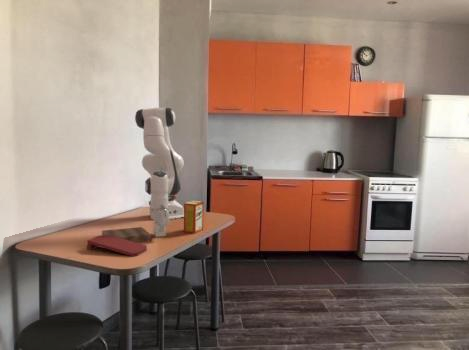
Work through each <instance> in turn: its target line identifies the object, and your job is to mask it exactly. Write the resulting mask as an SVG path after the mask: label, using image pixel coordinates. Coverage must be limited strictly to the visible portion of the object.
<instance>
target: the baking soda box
mask: <svg viewBox="0 0 469 350" xmlns="http://www.w3.org/2000/svg"><path fill="white" fill-rule="evenodd" d="M183 209H184V218H183V233H187V234H193V235H195V234H197V233H200V232H201V230H202V231H203V230H204V201H203V200H202V201H200V200H189V201H187V202H184V203H183Z"/></svg>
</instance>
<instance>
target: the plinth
mask: <svg viewBox="0 0 469 350" xmlns="http://www.w3.org/2000/svg"><path fill="white" fill-rule="evenodd" d="M101 235H111V236H115V237H118V238H122V239H125V240H129V241H132V242H136V243H140V242H148V241H151V237H152V236H151V233H149V232H148V231H147V230H146V229H145V228H144V227H142V226H141V227H130V228H116V229H105V230H101Z"/></svg>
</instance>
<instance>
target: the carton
mask: <svg viewBox="0 0 469 350" xmlns="http://www.w3.org/2000/svg"><path fill="white" fill-rule="evenodd" d="M98 247H100V248H101V249H102V248H103V249H106V250H110V251H113V252H117V253H119V254H123V255H126V256H131V257H136V256H139V255H141V254H143V253H144V252H146V251H147V245H146V244H142V243H140V242H132V241H129V240H125V239H122V238H118V237H115V236H111V235H102V234H101V235H97V236H95V237H93V238H90V239H88V240H87V243H86V249H87V250H93V249H95V248H98Z"/></svg>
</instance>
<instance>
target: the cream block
mask: <svg viewBox="0 0 469 350" xmlns="http://www.w3.org/2000/svg"><path fill="white" fill-rule="evenodd" d="M152 223H153V226H152V228H153V229H152V234H153V236H155V237H157V238H158V237H159V238H160V237H166V235H167V233H166V232H167V230H166V228H167V226H164V231H163V232H159V229H160V224H159V223H155V222H152Z"/></svg>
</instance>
